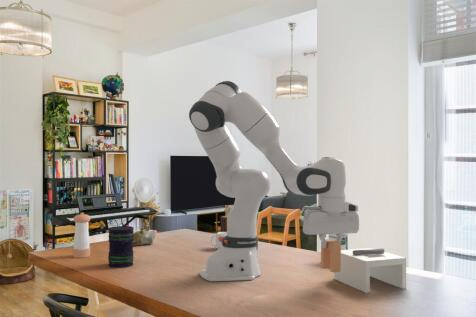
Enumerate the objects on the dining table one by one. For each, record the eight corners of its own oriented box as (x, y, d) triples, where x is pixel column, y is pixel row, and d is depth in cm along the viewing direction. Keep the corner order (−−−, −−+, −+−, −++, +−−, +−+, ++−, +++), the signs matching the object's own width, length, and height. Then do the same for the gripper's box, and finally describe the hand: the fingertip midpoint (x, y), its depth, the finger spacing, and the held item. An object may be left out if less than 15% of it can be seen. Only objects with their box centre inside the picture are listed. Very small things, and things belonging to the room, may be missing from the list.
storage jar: (103, 265, 169) (103, 227, 169) (124, 261, 176) (125, 225, 176) (116, 269, 162) (117, 230, 162) (138, 265, 169) (138, 227, 169)
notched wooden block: (332, 272, 136) (333, 243, 136) (320, 267, 142) (321, 239, 143) (340, 271, 137) (340, 242, 137) (328, 267, 143) (328, 239, 144)
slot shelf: (365, 292, 133) (365, 256, 133) (334, 278, 150) (334, 246, 150) (406, 288, 139) (406, 252, 139) (371, 275, 155) (371, 243, 156)
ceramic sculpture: (157, 228, 212) (128, 231, 205) (158, 245, 212) (129, 249, 205) (152, 225, 222) (123, 229, 215) (153, 242, 222) (124, 246, 215)
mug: (236, 248, 205) (236, 232, 205) (227, 251, 198) (227, 234, 198) (215, 246, 211) (215, 230, 211) (206, 249, 204) (206, 232, 204)
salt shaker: (78, 258, 180) (79, 214, 181) (69, 256, 185) (70, 212, 185) (93, 255, 186) (94, 212, 186) (84, 253, 190) (84, 211, 191)
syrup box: (337, 263, 173) (337, 228, 174) (328, 261, 179) (328, 226, 179) (348, 262, 176) (348, 227, 176) (338, 259, 181) (338, 226, 182)
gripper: (309, 206, 134) (308, 250, 133) (362, 206, 141) (361, 247, 141) (299, 205, 139) (298, 247, 139) (350, 204, 147) (350, 244, 146)
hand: (330, 247), depth 140 cm, fingers closed on notched wooden block, 3 cm apart
